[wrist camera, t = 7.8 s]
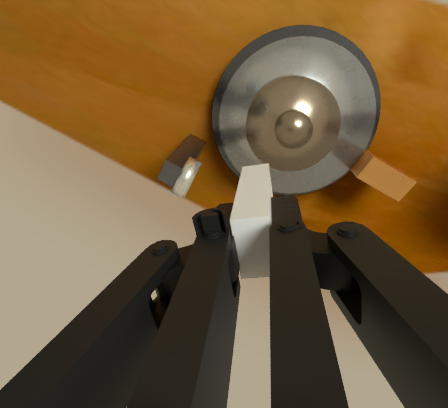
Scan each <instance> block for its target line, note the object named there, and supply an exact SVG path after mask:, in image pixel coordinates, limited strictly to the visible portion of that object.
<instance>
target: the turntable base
mask: <svg viewBox="0 0 448 408" xmlns="http://www.w3.org/2000/svg"><path fill="white" fill-rule="evenodd" d="M298 36H312V37H318V38H323V39H326V40H329V41H332V42H335V43H337V44H338V45H340V46H342V47H344V48H345V49H347V50H348V51H349V52H351V53H352V54H353V55H354V56H355V57H356V58H357V59H358V60H359V61H360V63H361V64H362V65H363V67H364V68H365V70H366V71H367V73H368V75H369V77H370V79H371V82H372V85H373V88H374V93H375V99H376V117H375V124H374V128H373V132H372V135H371V137H370V140H369V142H368V144H367V146H366V148H365V149H366V150H367V149H368V147H369V145H370V144H371V142H372V140H373V137H374V134H375V132H376V129H377V125H378V121H379V115H380V91H379V85H378V81H377V78H376V75H375V72H374V70H373V68H372V66H371V64H370V62H369V61H368V59H367V58H366V56H365V55H364V53H363V52H362V51H361V50H360V49H359V48H358V47H357V46H356V45H355V44H354V43H353V42H351V41H350V40H349V39H347V38H346V37H344V36H343V35H341V34H339V33H337V32H335V31H332V30H329V29H326V28H323V27H318V26H312V25H296V26H288V27H284V28H280V29H276V30H273V31H271V32H269V33H266V34H264V35H262V36H260V37H259V38H257V39H256V40H254V41H252V42H251V43H250V44H248V45H247V46H246V47H245V48H243V49H242V50H241V51H240V52H239V53H238V54H237V56H236V57H235V58H234V59H233V60H232V61H231V63H230V64H229V66H228V67H227V68H226V70H225V72H224V74H223V75H222V77H221V79H220V82H219V84H218V87H217V89H216V93H215V96H214V100H213V108H212V127H213V134H214V138H215V142H216V145H217V147H218V150H219V152H220V154H221V156H222V157H223V159H224V161H225V162H226V164H227V165H228V166H229V168H230V169H231V170H232V171H233V172H234V173H235V174H236V175H237V176H238V177H239V178H240V175H241V173H240V172H239V171H238V170H237V169H236V168H235V167H234V165H233V164H232V163H231V161H230V160H229V158H228V156H227V154H226V152H225V149H224V147H223V144H222V140H221V136H220V129H219V114H220V107H221V102H222V99H223V95H224V93H225V90H226V88H227V85H228V84H229V82H230V80H231V78H232V77H233V75H234V74H235V72H236V71H237V70H238V68H239V67H240V66H241V65H242V64H243V63H244V62H245V61H246V60H247V59H248V58H249V57H250V56H251V55H253V54H254V53H255V52H257V51H258V50H260V49H261V48H263V47H265V46H266V45H269V44H271V43H273V42H276V41H278V40H282V39H285V38H290V37H298ZM349 171H350V169H349V170H348V171H347V172H346V173H345V174H343V175H342V176H341V177H339V178H338V179H337V180H339V179H340V178H342V177H343V176H344V175H346V174H347V173H348V172H349ZM337 180H335V181H333V182H331V183H330V184H332V183H334V182H336V181H337ZM330 184H328V185H326V186H323V187H321V188H319V189H322V188H324V187H327V186H329V185H330ZM319 189H316V190H312V191H309V192H303V193H291V194H290V193H279V192H274V191H272V193H273V194H278V195H299V194H305V193H310V192H313V191H317V190H319Z"/></svg>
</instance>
